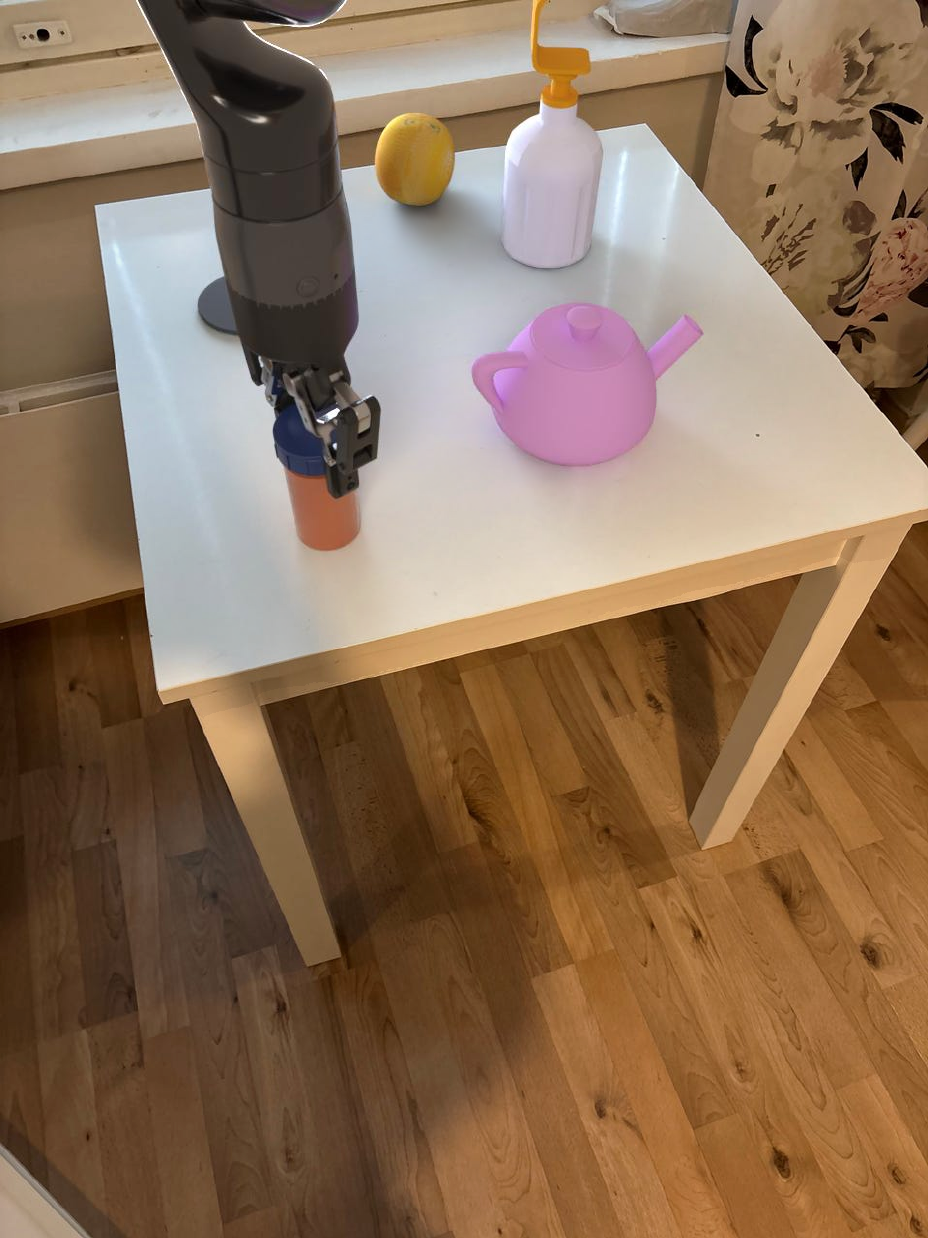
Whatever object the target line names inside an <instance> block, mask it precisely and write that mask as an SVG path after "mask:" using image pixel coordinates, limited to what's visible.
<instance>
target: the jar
mask: <svg viewBox="0 0 928 1238" xmlns="http://www.w3.org/2000/svg"><path fill="white" fill-rule="evenodd" d="M282 466H283V471H284V476H285V481H286V486H287V490H288V491H287V492H288V497H289V501H290V508H291V511H292V512H291V513H292V516H293V521H294V527H295V532H296V535H297V538H298V539H299V540H300V541H301V542H302V543H303V544H304V545H305V546H307V547H309V548H311V549H314V550H316V551H324V552H325V551H327V552H328V551H329V552H330V551H335V550H336V551H337V550H339V549H342V548H344V547H346V546H348V545H349V544H350V543H352V542H353V541H354V540H355V539H356V537H357V536H358V534H359V532H360V529H361V520H360V519H361V518H360V509H359V501H358V492H357V490H358V489H356V490H354V491H352V492H350V493H348V494H346V495H345V496H343V497H340V498H338V499H334V498H333V497H332V496H331V495H330V493H329V492H328V490H327V483H326V476H325V475H323V476H305V475H300V474H297V473H294V472H292V471H290V470H288V469H287V468H286V467H285V466H284V465H283V464H282Z"/></svg>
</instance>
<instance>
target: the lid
mask: <svg viewBox="0 0 928 1238" xmlns="http://www.w3.org/2000/svg"><path fill="white" fill-rule="evenodd" d="M337 407H338V404H337V403H335V404H334V405H332V406H330V407H328V408H326V409H324V410H322V411H320V412H314V413H315V416H316V419H317V418H319V417H321V416H323V415H325V414H327V413H329V412H331V411H333V410H335V409H336V408H337ZM272 437H273V442H274V443H273V446H274V450H275V451H274V452H275V456H276V458H277V459H278V460H279V462H280V463H281V464H282V466H283V465H284V466H285V467H286V468H287V469H288V470H290V471H292V472H294V473H297V474H300V475H305V476H323V475H325V469H324V462H323V455H322V452H321V449H320V447H319V444H318V441H317V438H316V436H314V435H312V434H310V433H308V432H307V431H306V429H305V426H304V424H303V421H302V418H301V416H300V413H299V410H298V407H297V405H296V404H294V405H292V406H290V407H288V408H286V409H285V410H284V411H283V412H281V413H280V414H279V416H278V417H277V418H275V420H274V423H273V425H272ZM330 439H331V441H332V444H335V443H337V429H335V430H333V431H332V432H331V433H330ZM284 466H283V467H284Z"/></svg>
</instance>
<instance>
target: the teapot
mask: <svg viewBox="0 0 928 1238" xmlns="http://www.w3.org/2000/svg"><path fill="white" fill-rule="evenodd" d="M637 334H638V333H636V331H635V330H634V328H633V327H632V326H631V324H630V323H629V322H628V321H627V320H626V319H625V318H624V317H623V316H622V315H620V314H619V313H617V311H616V312H615V311H614V310H612V309H610V308H608V307H606V306H603V305H600V304H596V303H590V302H567V303H561V304H557V305H554V306H551V307H549V308H547V309H545V310H544V311H542V312H541V313H539V314H538V315H537V316H535V317H534V318H533V319H532V320H531V321H530V322H529V323H528V324H526V325H525V327H523V328H522V330H521V331H520V332H519V333H518V334H517V335H516V336H515V337H514V339H513V340H512V341H511V343H510V344H509V345H508V346H507V348H506V350H504V351H493V352H489V353H484V354H482V355H479V356H478V357H476V359H475V360H474V361H473V362H472V364H471V372H470V373H471V378H472V382H473V385H474V386H475V388H476V390H477V391H478V392H479V394H480V395H481V396H482V397H483V399H484V400H485V401H486V402H487V403H488V404H489V406H491V410H492V413H493V414H492V415H493V416H494V418H495V421H496V423H497V425H498V427H499V429H500V430H501V431H502V433H503V434H504V435H505V436H506V437H507V438H508V439H509V440H510V441H511V442H512V443H513V444H515V446H517V447H518V448H519V449H521V450H523V452H525V453H527V454H529V455H530V456H533V457H534V458H536V459H538V460H540V461H543V462H545V463H548V464H549V463H550V464H552V465H556V466H557V465H558V466H562V467H563V466H565V467H587V466H592V465H593V466H594V465H597V464H601V463H604V462H608V461H611V460H613V459H616V458H618V457H620V456H622V455H624V454H626V453H627V452H630V451H631V450H632V449H634V448H635V447H636V446H637V445H638V444H639V443H641V441H643V439H644V438H645V437H646V435H647V434H648V433H649V431H650V430H651V428H652V426H653V423H654V420H655V416H656V411H657V383H656V381H658V379H659V378H661V377H662V376H663V375H664V374H665V373H666V372H667V371H668V370H669V369H670V368H671V367H672V366H673V365H674V364H675V363H676V362H677V361H678V360H679V359H680V358H681V357H682V356H683V355H684V354H685V353H686V352H687V351H688V350H689V349H691V347H692V346H694V345H695V344H696V343H697V341H699V340H700V339H701V337H703V336H704V335H705V333H704V330H703V329H702V327H700V325H699V324H698V323H697V322H696V321H695V320H694V319H693V318H692V317H690V316H689V315H687V314H684V315H683V316H682V317H680V318H679V320H678V321H676V323H674V324H673V325H672V326H671V328H669V330H667V331H666V332H665V333H664V334H663V335H662V336H661V337H660V338H659V339H658V340H657V341H656V342H655V343H654V344H653V345H652V346H651V347H650V348H649V349H648V350H646V348H645V347H644V345H643V343H642V342H641V340H640V338H639V336H638V335H637Z"/></svg>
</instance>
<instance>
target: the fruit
mask: <svg viewBox="0 0 928 1238" xmlns="http://www.w3.org/2000/svg"><path fill="white" fill-rule="evenodd" d="M455 158H456V156H455V145H454V141H453V138H452V135H451V133H450V131H449V129H448V128H447V126H445V124H443V122H442V121H440V120H439V119H437V118H436V117H434V116H432V115H428V114H426V113H420V112H407V113H404V114H401V115H398V116H396V117H395V118H393V119H391V121H389V123H388V124H387V125H386V127H384V129H383V131H382V132H381V134H380V136H379V139H378V141H377V144H376V149H375V157H374V168H375V169H374V170H375V175H376V178H377V181H378V184H379V187H380V188H381V189H382V191H383V192H384V193H385V195H386V196H388V197H389V198H390V199H391V200H393V201H395V202H398V203H401V204H404V205H408V206H409V205H410V206H417V207H419V206H420V207H422V206H427V205H431V204H433V203H434V202H435V201H437V200H438V199H440V197H441V196H442V195H443V194H444V193H445V191H446V190H447V188H448V186H449V184H450V182H451V180H452V178H453V173H454V169H455V161H456V160H455Z"/></svg>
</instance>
